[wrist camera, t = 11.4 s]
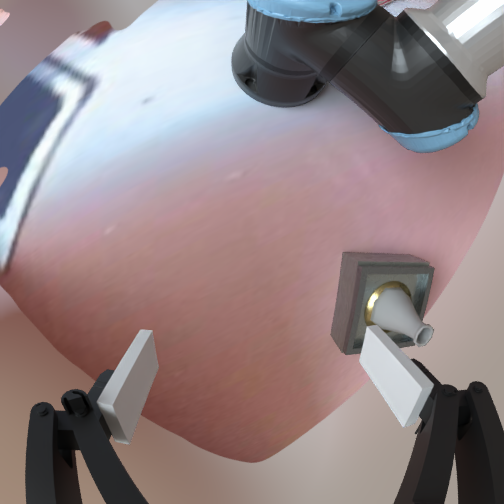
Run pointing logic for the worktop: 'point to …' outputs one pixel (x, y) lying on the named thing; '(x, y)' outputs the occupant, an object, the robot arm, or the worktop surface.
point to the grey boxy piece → (375, 294)
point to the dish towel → (384, 2)
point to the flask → (400, 316)
